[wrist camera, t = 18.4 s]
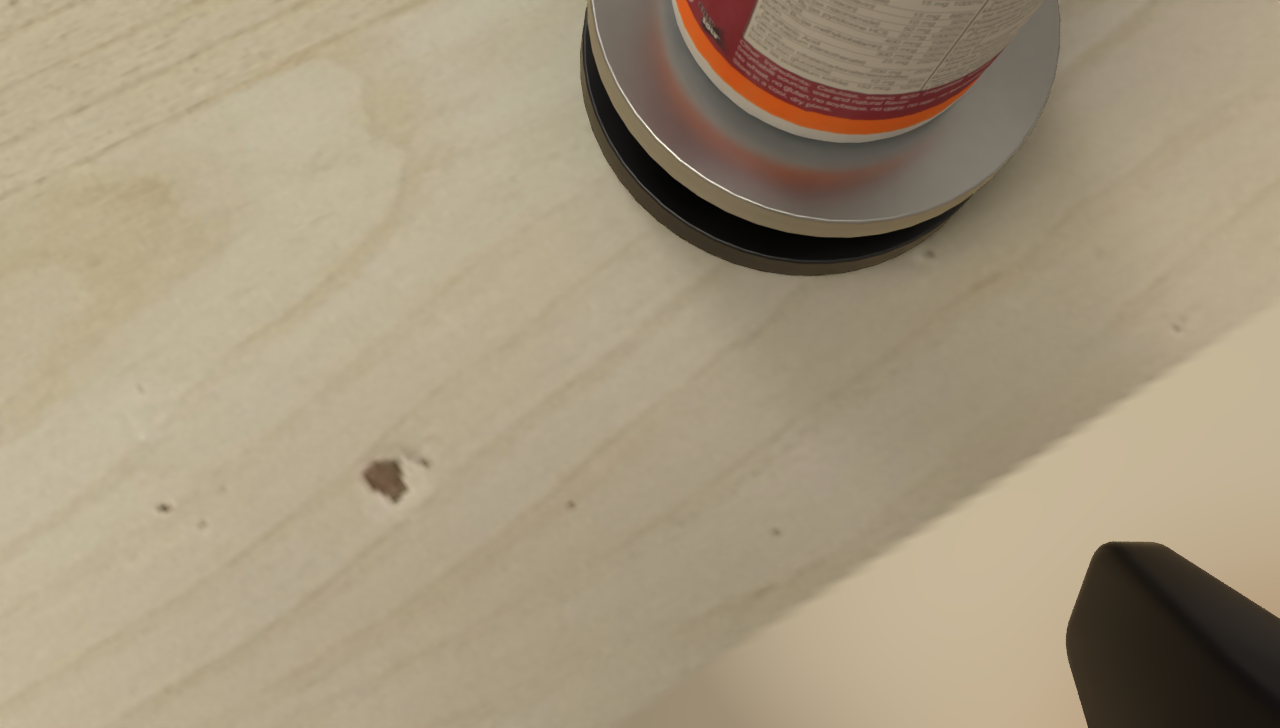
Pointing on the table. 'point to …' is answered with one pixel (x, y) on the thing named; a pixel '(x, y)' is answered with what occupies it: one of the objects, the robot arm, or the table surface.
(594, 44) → the stand
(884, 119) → the pill bottle
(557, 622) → the table surface
